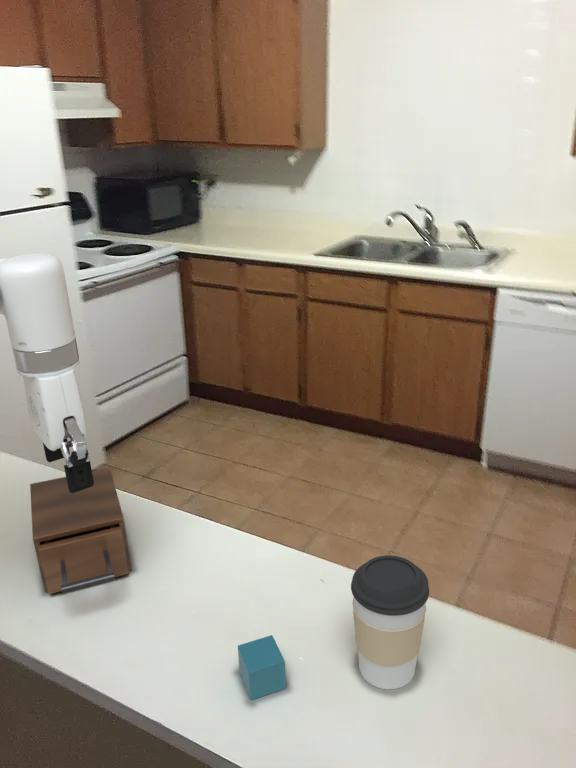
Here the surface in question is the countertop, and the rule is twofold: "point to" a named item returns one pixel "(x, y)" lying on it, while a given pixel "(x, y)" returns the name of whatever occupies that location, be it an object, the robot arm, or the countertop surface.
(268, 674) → the block
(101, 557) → the drawer
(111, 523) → the cabinet
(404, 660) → the coffee cup
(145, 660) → the countertop surface
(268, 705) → the countertop surface
